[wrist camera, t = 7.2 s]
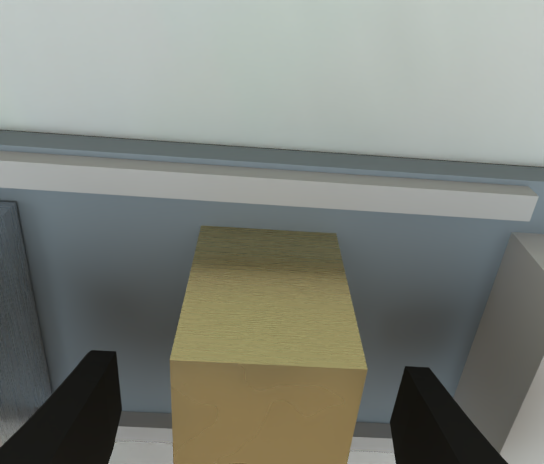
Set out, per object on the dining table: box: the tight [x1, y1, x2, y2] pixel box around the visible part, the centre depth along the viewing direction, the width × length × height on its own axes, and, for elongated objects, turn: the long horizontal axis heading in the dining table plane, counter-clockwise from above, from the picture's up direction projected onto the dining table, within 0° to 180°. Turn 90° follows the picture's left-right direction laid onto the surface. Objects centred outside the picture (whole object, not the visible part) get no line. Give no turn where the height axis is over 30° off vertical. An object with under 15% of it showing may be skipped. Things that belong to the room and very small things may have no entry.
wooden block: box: [170, 225, 368, 464], centre depth 13 cm, size 6×4×5 cm, turn 176°
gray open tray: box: [0, 130, 544, 464], centre depth 14 cm, size 10×22×4 cm, turn 86°
